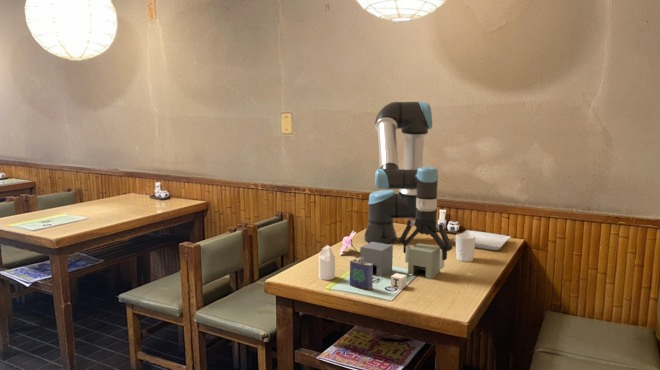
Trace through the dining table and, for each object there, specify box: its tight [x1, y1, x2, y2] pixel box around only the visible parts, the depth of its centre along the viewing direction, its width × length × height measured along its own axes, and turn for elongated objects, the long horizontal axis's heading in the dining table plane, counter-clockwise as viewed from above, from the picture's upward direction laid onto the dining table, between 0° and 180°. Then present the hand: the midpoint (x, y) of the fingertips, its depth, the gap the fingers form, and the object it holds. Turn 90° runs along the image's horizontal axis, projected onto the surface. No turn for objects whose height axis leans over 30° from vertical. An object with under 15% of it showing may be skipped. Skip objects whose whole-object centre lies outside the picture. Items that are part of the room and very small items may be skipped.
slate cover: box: [359, 242, 394, 278], centre depth 188 cm, size 9×9×10 cm
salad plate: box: [453, 229, 512, 251], centre depth 228 cm, size 21×21×3 cm
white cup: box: [455, 233, 476, 263], centre depth 204 cm, size 8×8×10 cm
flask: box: [349, 256, 374, 291], centre depth 171 cm, size 9×3×11 cm, turn 51°
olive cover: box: [407, 243, 442, 280], centre depth 186 cm, size 9×9×10 cm
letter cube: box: [390, 272, 408, 290], centre depth 172 cm, size 4×4×4 cm
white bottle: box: [318, 244, 336, 281], centre depth 181 cm, size 6×12×6 cm
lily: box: [339, 231, 358, 256], centre depth 212 cm, size 12×12×10 cm
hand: (424, 264), depth 186 cm, fingers open, 13 cm apart
